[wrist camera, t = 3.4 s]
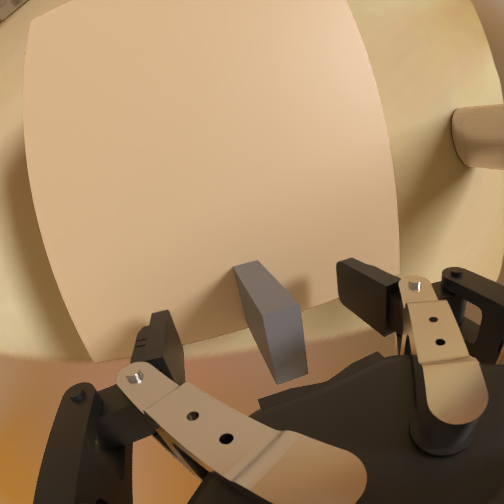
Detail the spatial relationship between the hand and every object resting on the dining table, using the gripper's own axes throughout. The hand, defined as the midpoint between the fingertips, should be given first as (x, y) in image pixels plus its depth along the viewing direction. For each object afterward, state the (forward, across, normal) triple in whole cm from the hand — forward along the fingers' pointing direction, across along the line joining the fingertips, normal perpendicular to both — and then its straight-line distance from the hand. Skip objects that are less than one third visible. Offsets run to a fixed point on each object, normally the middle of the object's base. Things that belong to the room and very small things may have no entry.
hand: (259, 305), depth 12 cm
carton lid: (+3, 0, -8) cm, 9 cm away
